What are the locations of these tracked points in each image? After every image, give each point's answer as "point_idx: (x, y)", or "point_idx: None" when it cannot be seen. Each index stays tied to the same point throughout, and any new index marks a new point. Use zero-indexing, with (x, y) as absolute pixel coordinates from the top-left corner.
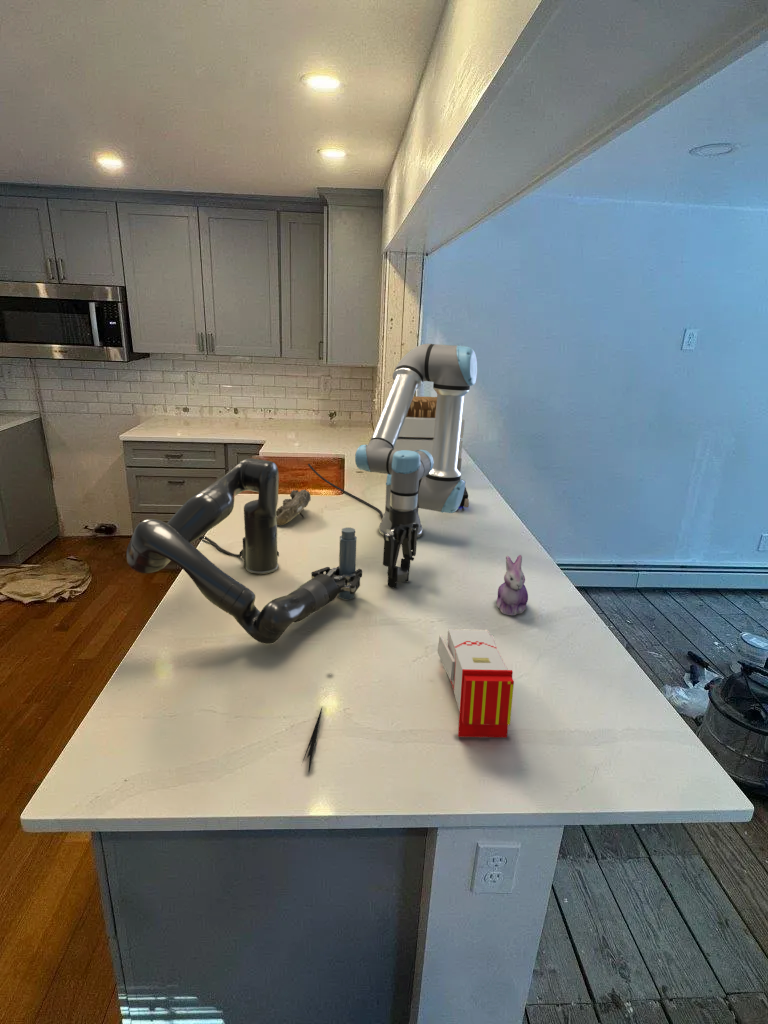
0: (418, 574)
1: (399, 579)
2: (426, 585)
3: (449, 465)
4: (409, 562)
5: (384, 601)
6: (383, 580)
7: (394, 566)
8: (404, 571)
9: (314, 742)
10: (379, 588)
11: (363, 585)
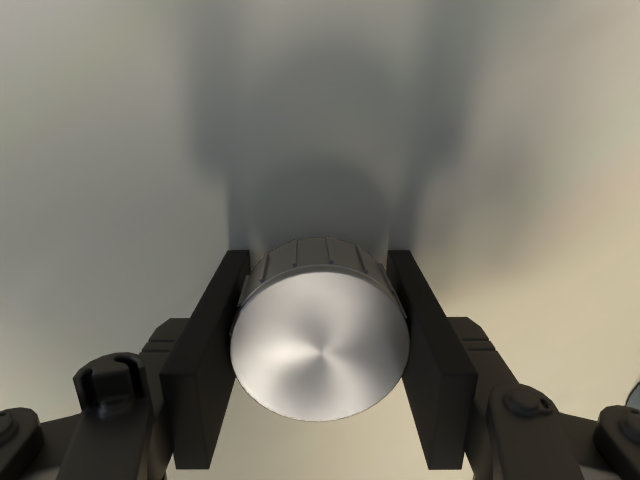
0: (66, 266)
1: (380, 271)
2: (159, 94)
3: None
4: (177, 360)
5: (632, 185)
6: None
7: (538, 397)
8: (297, 304)
9: None
10: None
11: None
